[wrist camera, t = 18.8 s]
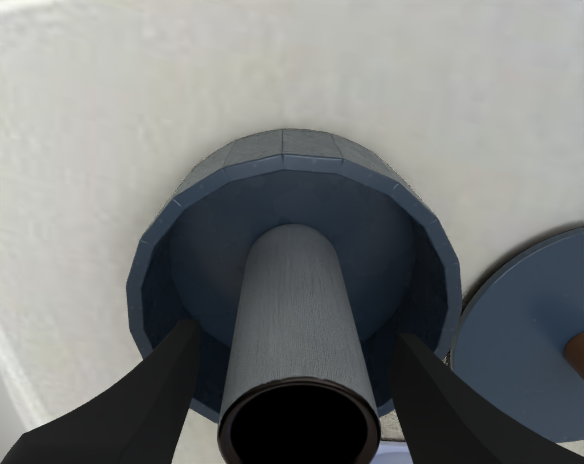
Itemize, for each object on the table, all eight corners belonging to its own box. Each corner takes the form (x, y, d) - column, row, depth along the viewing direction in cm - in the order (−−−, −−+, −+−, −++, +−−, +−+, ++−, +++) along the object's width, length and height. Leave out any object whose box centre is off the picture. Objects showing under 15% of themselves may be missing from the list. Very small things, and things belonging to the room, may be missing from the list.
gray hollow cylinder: (228, 273, 21) (184, 456, 12) (282, 204, 20) (280, 349, 10) (301, 317, 22) (314, 517, 13) (356, 255, 21) (417, 428, 12)
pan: (396, 370, 25) (422, 444, 20) (164, 356, 24) (136, 431, 19) (451, 141, 19) (503, 171, 15) (155, 116, 19) (113, 139, 14)
